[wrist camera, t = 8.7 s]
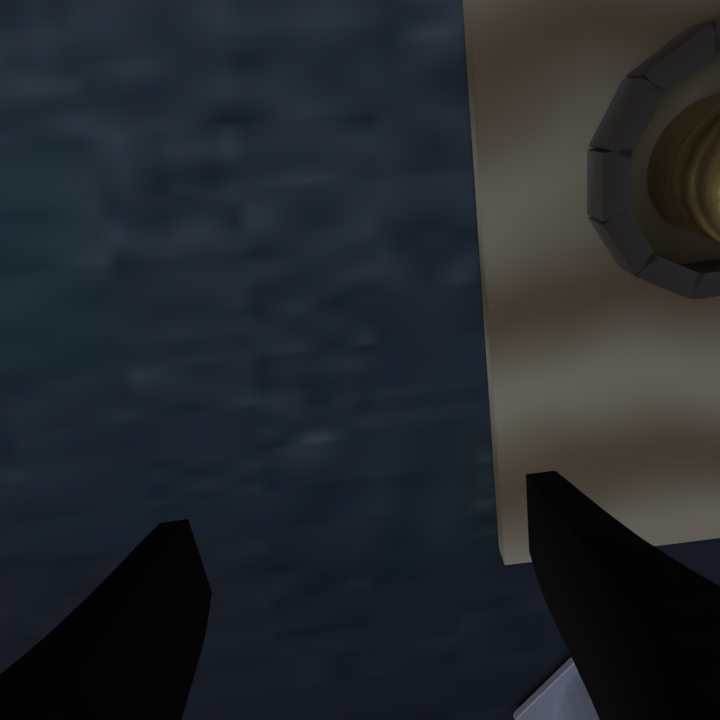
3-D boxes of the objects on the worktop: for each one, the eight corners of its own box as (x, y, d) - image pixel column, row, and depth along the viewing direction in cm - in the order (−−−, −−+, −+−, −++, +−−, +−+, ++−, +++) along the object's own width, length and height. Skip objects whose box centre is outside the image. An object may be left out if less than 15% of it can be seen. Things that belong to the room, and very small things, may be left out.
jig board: (841, 504, 24) (886, 540, 22) (499, 548, 25) (512, 587, 23) (967, -86, 16) (1056, -114, 14) (462, -3, 17) (478, -18, 15)
